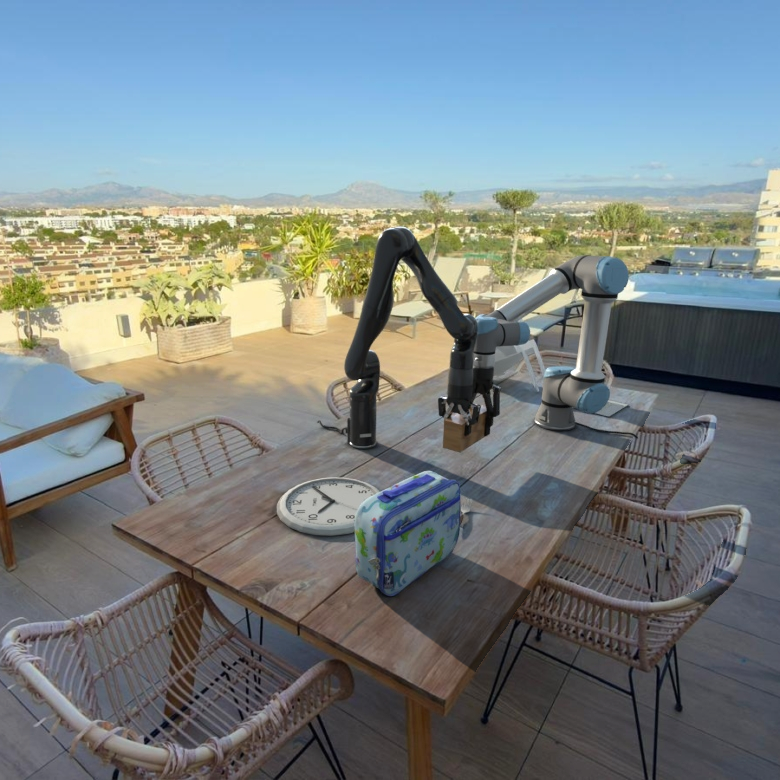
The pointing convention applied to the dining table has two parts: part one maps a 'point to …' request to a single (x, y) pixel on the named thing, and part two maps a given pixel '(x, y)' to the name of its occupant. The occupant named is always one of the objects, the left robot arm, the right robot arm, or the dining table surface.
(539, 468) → the dining table surface
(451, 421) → the box
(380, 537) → the lunch box
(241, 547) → the dining table surface
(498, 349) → the white plastic object
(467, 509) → the fork
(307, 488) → the wall clock
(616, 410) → the invitation card
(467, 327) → the left robot arm
